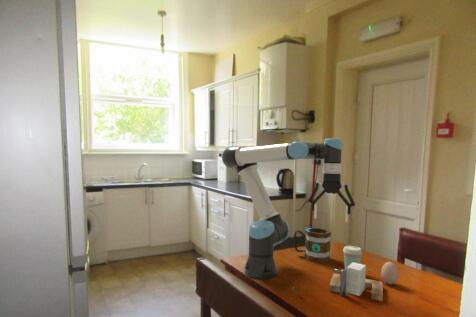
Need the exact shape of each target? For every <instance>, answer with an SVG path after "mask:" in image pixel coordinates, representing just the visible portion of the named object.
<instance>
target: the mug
mask: <svg viewBox="0 0 476 317" xmlns="http://www.w3.org/2000/svg"><path fill="white" fill-rule="evenodd" d="M297 233H299V234H301V236H302V237H304V238H305V239H304V240H305V242H304V246H305V248H304V249H298V247H297ZM331 234H332V232H331V230H329V229H327V228H321V227H308V228H305V234H304V233H303V231H301V230H296V231H295V232H294V235H293V239H294V240H293V242H294V245H293V247H294V249H295V252H298V253H304V258H305V259H306V260H307V261H311V262H315V263H327V262H329V261H331V245H332V244H331V236H332V235H331Z"/></svg>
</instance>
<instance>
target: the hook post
mask: <svg viewBox="0 0 476 317" xmlns="http://www.w3.org/2000/svg"><path fill="white" fill-rule="evenodd" d="M332 271H333V273H337V274H340V293H339V296H341V297H345V298H346V297H347V292H346V282H347V270H345V268H344V269H343V268H342V269H338V268H337V269H336V268H333V269H332Z"/></svg>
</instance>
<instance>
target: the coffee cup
mask: <svg viewBox="0 0 476 317" xmlns="http://www.w3.org/2000/svg"><path fill="white" fill-rule="evenodd" d="M342 251H343V259H344V260H343V261H344V270H347V267H348V266H349V265H350V264H351V263H352V262H354V263H358V264H361V258H362V254H363V252H362V248H360V247H359V246H356V245H346V246H344V247H343V250H342Z"/></svg>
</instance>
